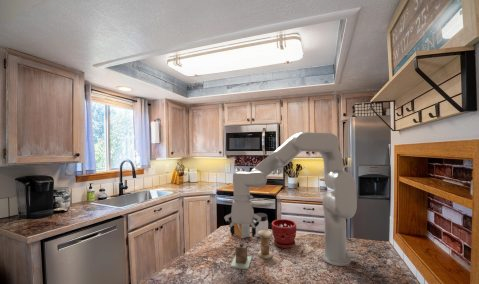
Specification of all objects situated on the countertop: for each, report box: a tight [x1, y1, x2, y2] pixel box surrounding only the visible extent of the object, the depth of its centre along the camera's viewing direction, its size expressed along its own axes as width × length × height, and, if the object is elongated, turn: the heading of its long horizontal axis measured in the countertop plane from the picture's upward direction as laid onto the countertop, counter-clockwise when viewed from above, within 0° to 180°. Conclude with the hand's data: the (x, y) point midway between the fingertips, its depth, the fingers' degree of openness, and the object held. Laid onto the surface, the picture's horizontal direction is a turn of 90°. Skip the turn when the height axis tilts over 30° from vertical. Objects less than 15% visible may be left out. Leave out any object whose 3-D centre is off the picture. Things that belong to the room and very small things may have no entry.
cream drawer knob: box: [257, 229, 273, 260], centre depth 108 cm, size 7×7×11 cm
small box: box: [233, 223, 251, 239], centre depth 133 cm, size 8×6×13 cm
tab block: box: [235, 241, 248, 264], centre depth 101 cm, size 4×4×8 cm
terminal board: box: [230, 254, 253, 270], centre depth 101 cm, size 8×10×1 cm
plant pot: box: [271, 218, 297, 249], centre depth 120 cm, size 13×13×12 cm
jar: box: [253, 212, 269, 238], centre depth 134 cm, size 9×8×12 cm
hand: (243, 235), depth 102 cm, fingers open, 9 cm apart
